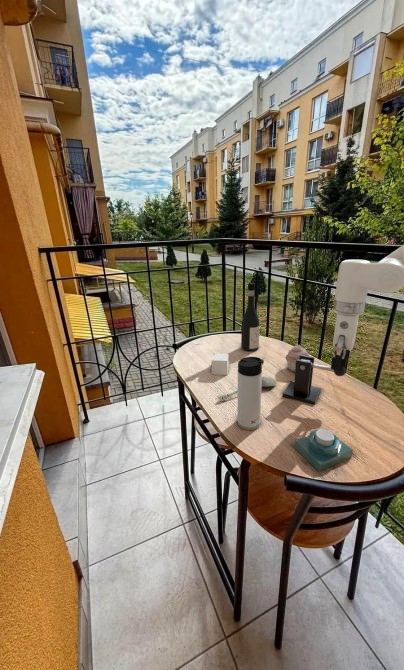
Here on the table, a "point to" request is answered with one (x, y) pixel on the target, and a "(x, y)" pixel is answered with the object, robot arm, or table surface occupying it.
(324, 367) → the flush lever
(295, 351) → the cupcake
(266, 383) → the soupspoon
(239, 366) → the travel mug
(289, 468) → the table surface
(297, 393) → the lever bracket
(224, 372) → the white cube
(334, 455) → the plate
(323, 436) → the flush button
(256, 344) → the wine bottle
